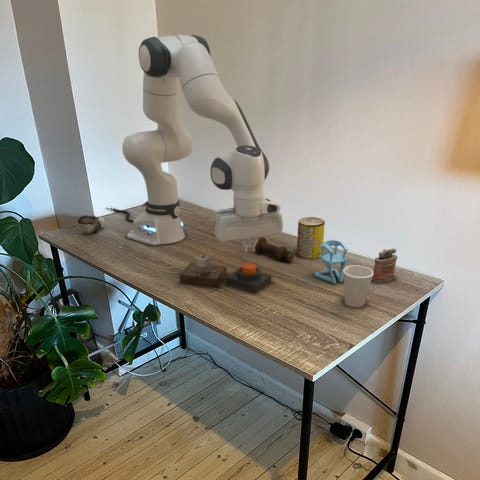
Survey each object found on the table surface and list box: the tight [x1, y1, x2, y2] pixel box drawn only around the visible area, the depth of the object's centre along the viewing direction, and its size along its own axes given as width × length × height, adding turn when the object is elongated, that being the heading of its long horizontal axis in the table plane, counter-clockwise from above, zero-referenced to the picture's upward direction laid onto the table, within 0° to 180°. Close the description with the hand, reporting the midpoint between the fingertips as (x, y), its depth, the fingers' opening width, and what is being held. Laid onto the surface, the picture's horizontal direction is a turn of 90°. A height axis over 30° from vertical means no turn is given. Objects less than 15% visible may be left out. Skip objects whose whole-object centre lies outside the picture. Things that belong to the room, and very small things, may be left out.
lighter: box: [371, 247, 398, 284], centre depth 154 cm, size 8×3×10 cm, turn 117°
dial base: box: [179, 262, 227, 289], centre depth 157 cm, size 12×10×3 cm
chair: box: [314, 239, 349, 285], centre depth 155 cm, size 8×8×12 cm
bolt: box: [254, 236, 295, 262], centre depth 172 cm, size 6×5×15 cm
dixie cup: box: [343, 264, 374, 308], centre depth 141 cm, size 8×8×10 cm
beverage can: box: [296, 216, 326, 260], centre depth 172 cm, size 9×9×12 cm
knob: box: [195, 253, 211, 273], centre depth 155 cm, size 4×4×5 cm
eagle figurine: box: [77, 214, 105, 235], centre depth 196 cm, size 8×7×9 cm
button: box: [241, 262, 257, 274], centre depth 152 cm, size 4×4×2 cm
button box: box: [225, 266, 272, 294], centre depth 154 cm, size 11×9×4 cm
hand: (249, 251), depth 149 cm, fingers closed
